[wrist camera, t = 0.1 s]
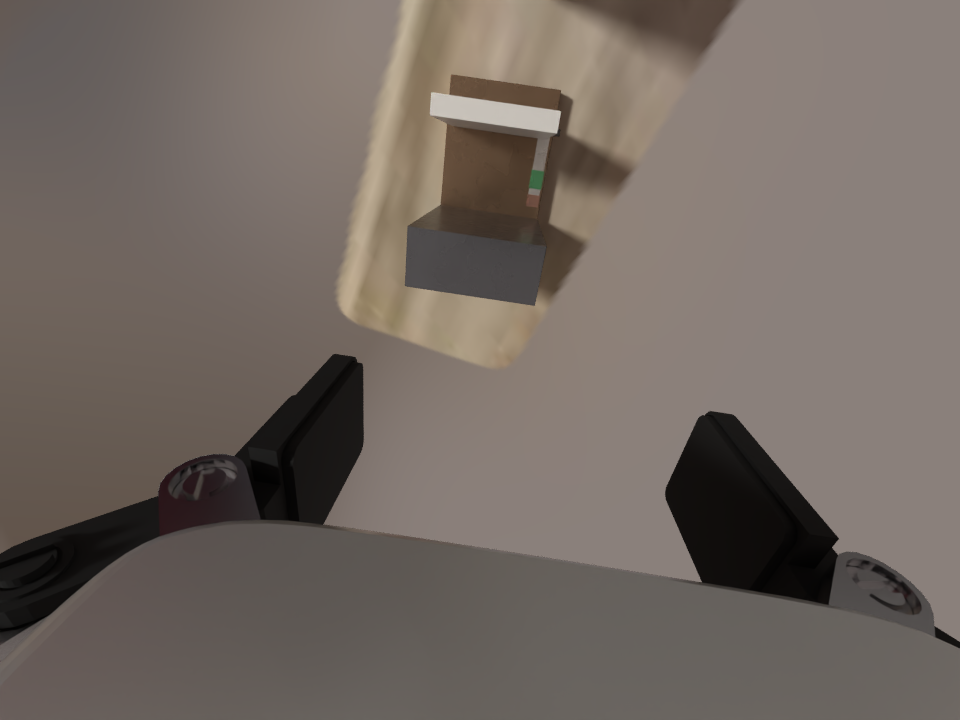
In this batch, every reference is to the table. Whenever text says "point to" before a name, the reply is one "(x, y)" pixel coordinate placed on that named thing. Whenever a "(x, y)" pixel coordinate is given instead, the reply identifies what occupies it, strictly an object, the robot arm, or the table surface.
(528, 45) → the table surface
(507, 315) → the table surface
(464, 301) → the table surface
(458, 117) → the white flat slab
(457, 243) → the grey bracket
